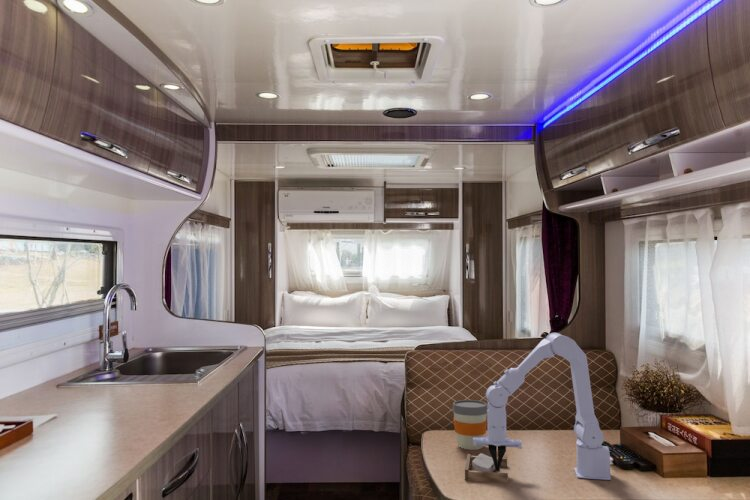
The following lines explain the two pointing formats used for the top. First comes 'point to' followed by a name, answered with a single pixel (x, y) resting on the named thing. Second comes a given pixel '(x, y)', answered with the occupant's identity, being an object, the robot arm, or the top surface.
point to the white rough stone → (483, 463)
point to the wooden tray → (485, 475)
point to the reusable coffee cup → (469, 422)
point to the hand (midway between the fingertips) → (497, 470)
